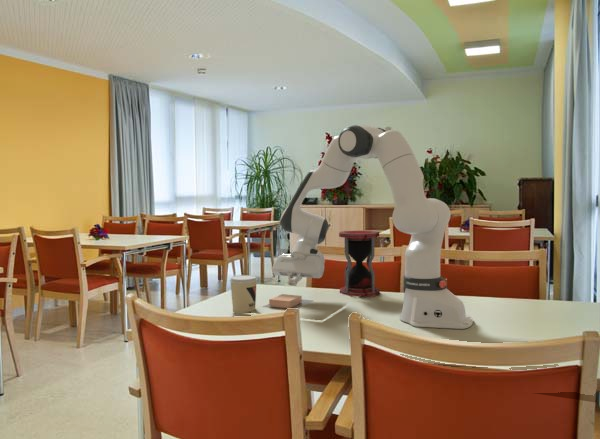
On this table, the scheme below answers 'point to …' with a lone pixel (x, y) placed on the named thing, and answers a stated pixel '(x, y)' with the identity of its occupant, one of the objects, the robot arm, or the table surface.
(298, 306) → the slate board
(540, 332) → the table surface
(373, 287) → the hourglass
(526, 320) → the table surface
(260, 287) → the table surface
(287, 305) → the picture frame
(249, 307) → the coffee cup
